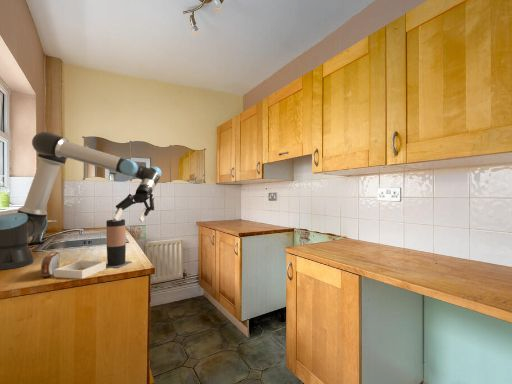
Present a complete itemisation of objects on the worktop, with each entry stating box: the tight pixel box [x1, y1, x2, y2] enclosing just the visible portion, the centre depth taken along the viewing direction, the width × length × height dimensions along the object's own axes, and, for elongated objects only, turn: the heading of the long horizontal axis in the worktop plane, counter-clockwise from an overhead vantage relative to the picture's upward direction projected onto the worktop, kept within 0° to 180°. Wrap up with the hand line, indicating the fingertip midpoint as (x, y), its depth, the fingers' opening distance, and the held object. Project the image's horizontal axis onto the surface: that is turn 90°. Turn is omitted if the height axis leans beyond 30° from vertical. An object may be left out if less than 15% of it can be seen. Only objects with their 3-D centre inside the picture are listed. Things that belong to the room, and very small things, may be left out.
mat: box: [106, 260, 132, 269], centre depth 118 cm, size 9×9×1 cm
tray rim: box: [53, 260, 107, 280], centre depth 107 cm, size 13×13×3 cm
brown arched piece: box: [40, 251, 61, 278], centre depth 106 cm, size 15×3×8 cm, turn 24°
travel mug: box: [105, 218, 127, 266], centre depth 117 cm, size 8×8×20 cm
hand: (127, 220), depth 125 cm, fingers open, 13 cm apart
